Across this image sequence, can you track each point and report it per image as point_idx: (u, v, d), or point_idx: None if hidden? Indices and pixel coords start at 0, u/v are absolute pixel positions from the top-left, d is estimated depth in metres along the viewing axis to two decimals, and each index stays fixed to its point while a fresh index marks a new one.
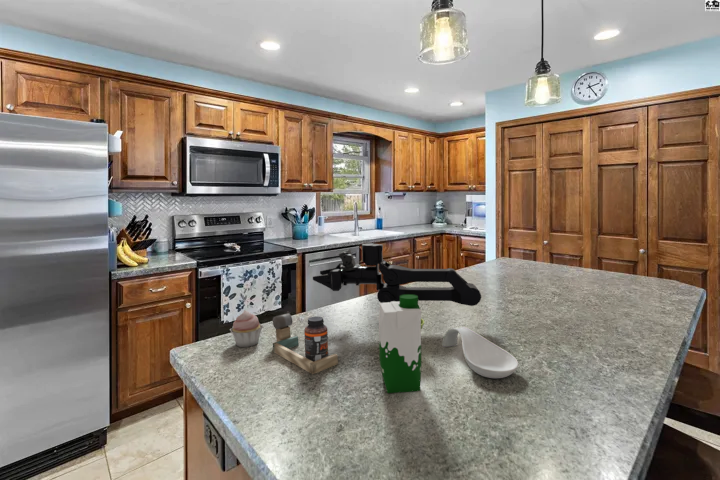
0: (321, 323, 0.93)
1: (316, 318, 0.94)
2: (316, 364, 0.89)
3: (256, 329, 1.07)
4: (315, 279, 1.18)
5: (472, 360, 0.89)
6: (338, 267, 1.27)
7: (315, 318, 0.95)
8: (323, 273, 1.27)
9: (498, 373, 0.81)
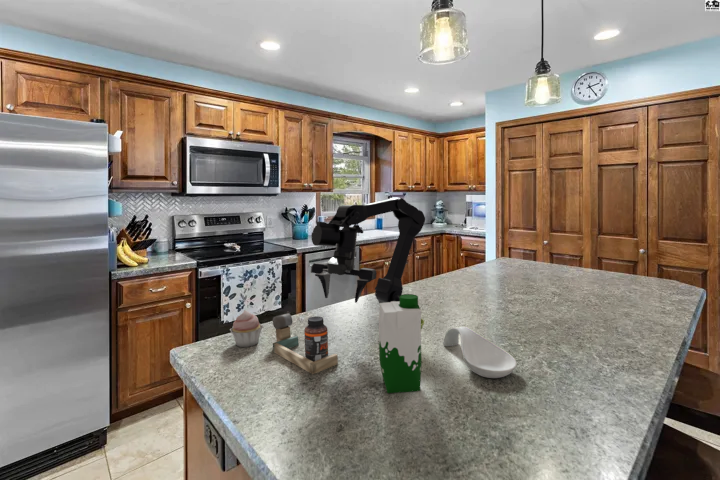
0: (321, 323, 0.93)
1: (316, 318, 0.94)
2: (316, 364, 0.89)
3: (256, 329, 1.07)
4: None
5: (471, 359, 0.89)
6: (324, 276, 1.08)
7: (315, 318, 0.95)
8: (327, 293, 1.10)
9: (495, 373, 0.81)
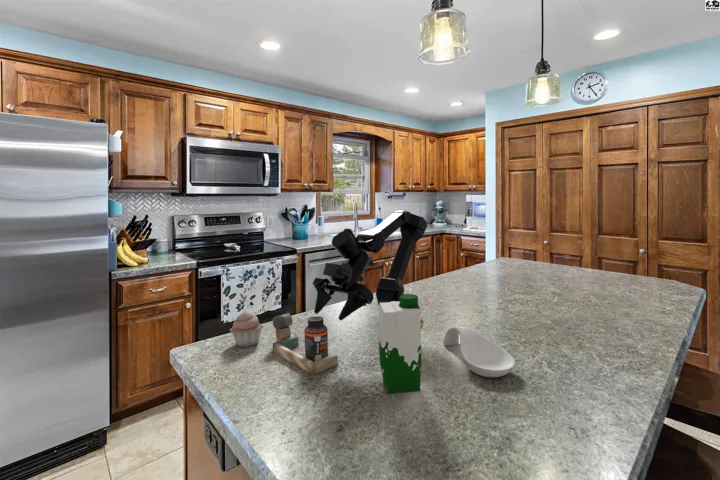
0: (321, 323, 0.93)
1: (316, 318, 0.94)
2: (316, 364, 0.89)
3: (256, 329, 1.07)
4: (343, 317, 0.95)
5: (470, 359, 0.90)
6: (322, 289, 1.03)
7: (315, 318, 0.95)
8: (318, 310, 1.01)
9: (493, 372, 0.81)
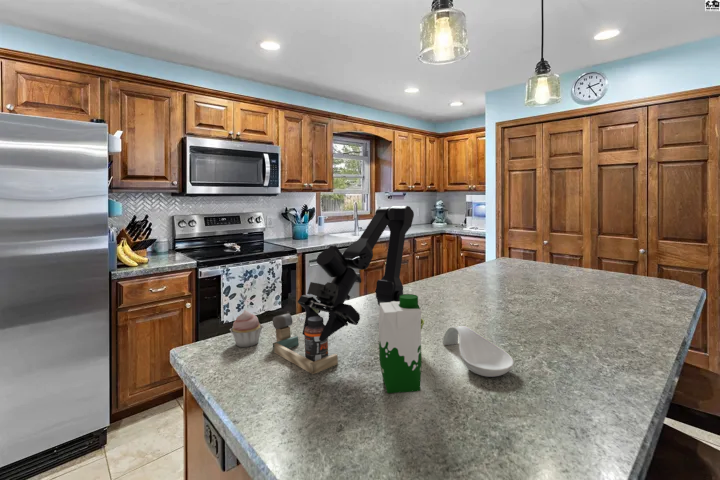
0: (321, 323, 0.93)
1: (316, 318, 0.94)
2: (316, 364, 0.89)
3: (256, 329, 1.07)
4: (324, 338, 0.92)
5: (468, 358, 0.90)
6: (311, 309, 0.98)
7: (315, 318, 0.95)
8: None
9: (491, 371, 0.81)
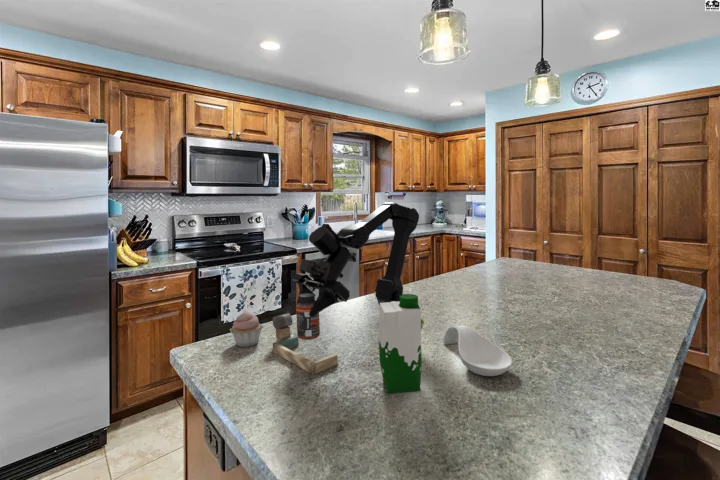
0: (312, 299, 0.95)
1: (307, 294, 0.96)
2: (316, 364, 0.89)
3: (256, 329, 1.07)
4: (314, 313, 0.94)
5: (467, 358, 0.90)
6: (304, 286, 1.00)
7: (306, 294, 0.96)
8: None
9: (489, 371, 0.82)
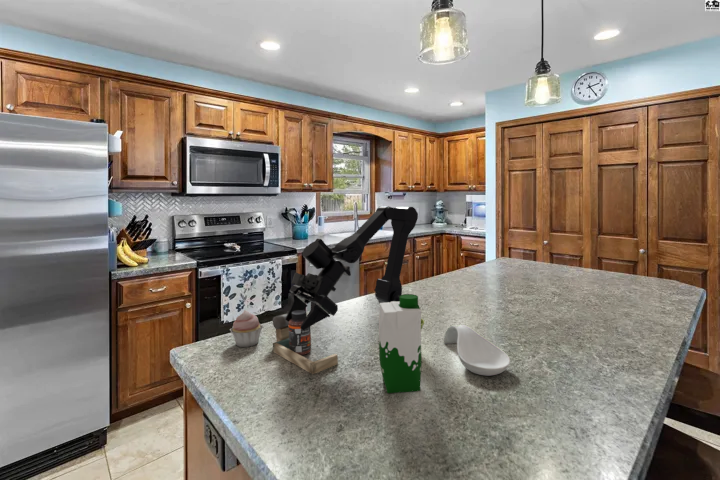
0: (303, 317, 0.99)
1: (299, 312, 1.00)
2: (316, 364, 0.89)
3: (256, 329, 1.07)
4: (305, 327, 0.96)
5: (466, 357, 0.91)
6: (296, 297, 1.05)
7: (299, 311, 1.01)
8: (290, 317, 1.04)
9: (486, 370, 0.82)
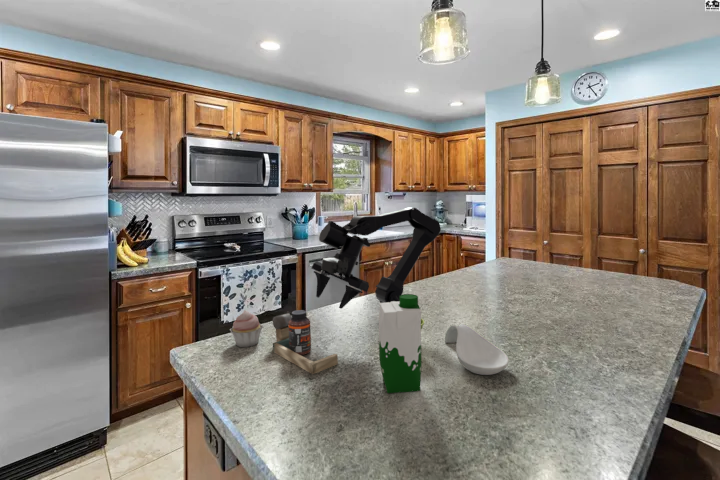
0: (303, 317, 0.99)
1: (299, 312, 1.00)
2: (316, 364, 0.89)
3: (256, 329, 1.07)
4: (343, 306, 1.08)
5: (465, 356, 0.91)
6: (321, 275, 1.12)
7: (299, 311, 1.01)
8: (320, 293, 1.13)
9: (484, 369, 0.83)
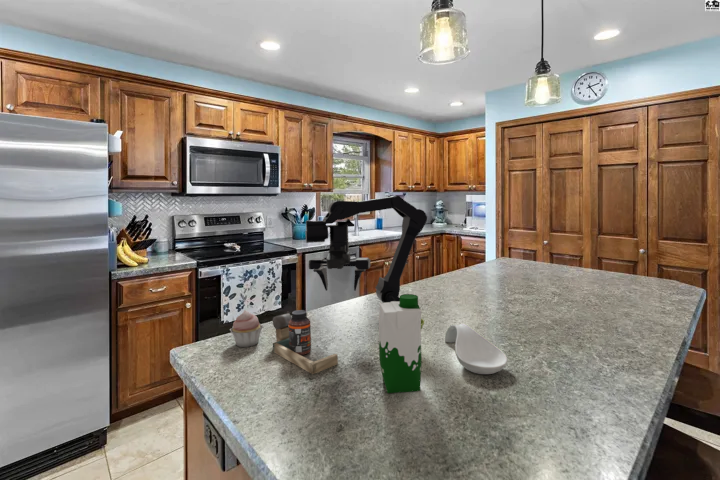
0: (303, 317, 0.99)
1: (299, 312, 1.00)
2: (316, 364, 0.89)
3: (256, 329, 1.07)
4: (356, 287, 1.16)
5: (464, 355, 0.92)
6: (322, 270, 1.15)
7: (299, 311, 1.01)
8: (327, 286, 1.17)
9: (482, 369, 0.83)
